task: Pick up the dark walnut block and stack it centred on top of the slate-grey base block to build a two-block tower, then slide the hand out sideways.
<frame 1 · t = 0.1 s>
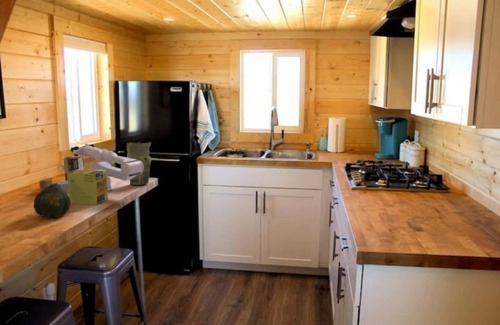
hand: (77, 148, 234), 22 cm above the worktop, tool horizontal, fingers open, 7 cm apart
base block: (64, 192, 222), on the worktop
protein box: (89, 201, 205), on the worktop
walnut block: (46, 191, 223), on the worktop
squash: (53, 216, 182), on the worktop
coffee box: (75, 184, 240), on the worktop
pouch: (140, 184, 242), on the worktop
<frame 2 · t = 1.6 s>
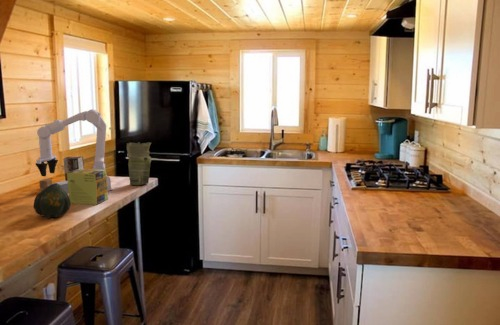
hand: (48, 174, 218), 10 cm above the worktop, tool pointing down, fingers open, 7 cm apart
nothing on the worktop moved.
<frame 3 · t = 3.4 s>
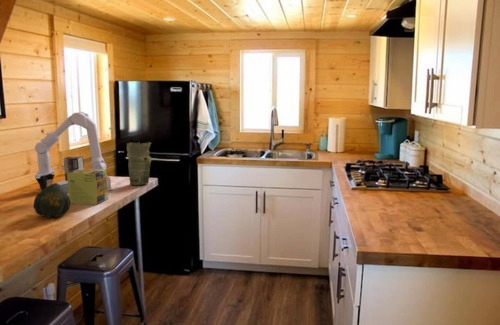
hand: (46, 188, 223), 2 cm above the worktop, tool pointing down, fingers closed on walnut block, 4 cm apart
walnut block: (46, 191, 223), on the worktop, touching gripper
everything else where it was.
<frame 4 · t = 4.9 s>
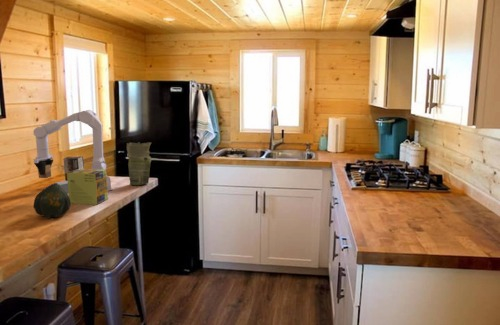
hand: (45, 173, 222), 10 cm above the worktop, tool pointing down, fingers closed on walnut block, 4 cm apart
walnut block: (45, 177, 222), point 8 cm above the worktop, touching gripper
everything else where it was.
when the fingers open (8 cm above the worktop, at t = 6.5 s): walnut block drops 1 cm, resting on base block.
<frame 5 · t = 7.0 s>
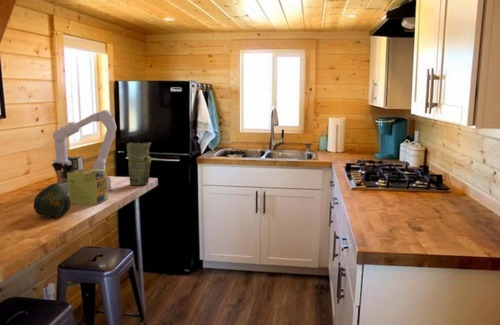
hand: (63, 177, 221), 8 cm above the worktop, tool pointing down, fingers open, 7 cm apart
base block: (64, 192, 222), on the worktop, touching walnut block
walnut block: (63, 182, 221), point 5 cm above the worktop, touching base block
everything else where it was.
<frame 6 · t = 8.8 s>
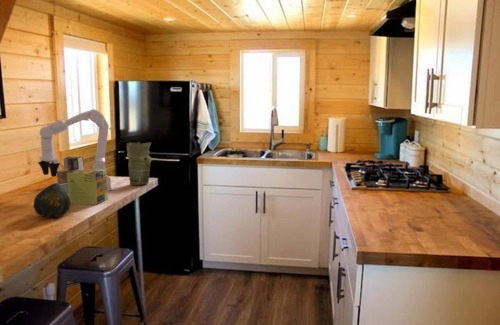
hand: (50, 175, 215), 10 cm above the worktop, tool pointing down, fingers open, 7 cm apart
nothing on the worktop moved.
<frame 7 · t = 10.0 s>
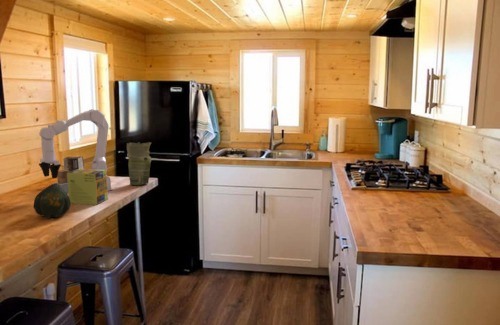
hand: (50, 177, 211), 10 cm above the worktop, tool pointing down, fingers open, 7 cm apart
nothing on the worktop moved.
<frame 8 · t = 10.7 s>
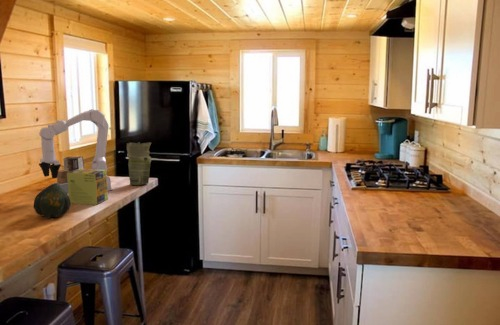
hand: (50, 177, 211), 10 cm above the worktop, tool pointing down, fingers open, 7 cm apart
nothing on the worktop moved.
at the end: walnut block 0.4 cm off-centre on the base block, point 5.5 cm above the base block's base; walnut block tilted 0°; the gripper is holding nothing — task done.
